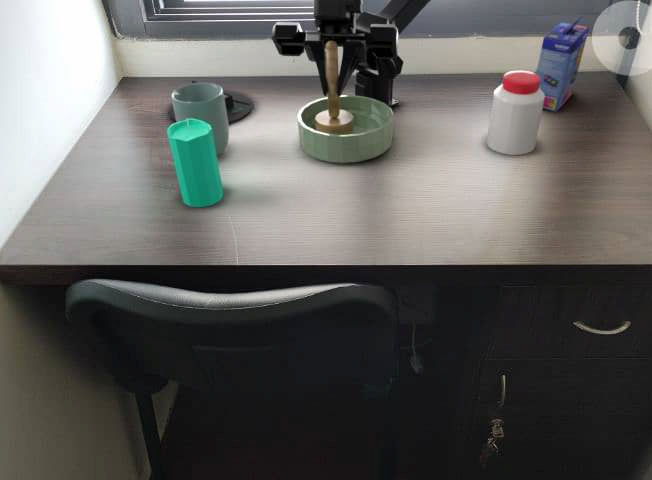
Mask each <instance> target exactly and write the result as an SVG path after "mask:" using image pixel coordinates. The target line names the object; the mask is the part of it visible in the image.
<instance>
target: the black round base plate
mask: <svg viewBox="0 0 652 480" xmlns="http://www.w3.org/2000/svg"><path fill="white" fill-rule="evenodd" d="M191 83H199V82H198V81H196V80H191ZM223 93H224V97H225V103H226V110H227V116H228V125H230V124H233V123H236V122H238V121H241V120H243V119H244V118H246V117H247V116H248V115H250V113H251V112H252V111H253V107H254V105H253V101H252V100H251V99H250V97H248V96H246V95H245V94H242V93H239V92H236V91H235V92H234V91H229V90H223ZM169 116H170V118H171V120H172V121H174V123H177V122H176V118H175V113H174V109H173V104H172V105H171V107H170V108H169Z"/></svg>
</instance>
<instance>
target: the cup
mask: <svg viewBox="0 0 652 480" xmlns="http://www.w3.org/2000/svg"><path fill="white" fill-rule="evenodd" d="M223 91H224V89H223V88H222V87H221V86H220V85H219V84H217V83H213V82H212V83H211V82H198V83H192V82H191V83H187V84H183V85H181V86H179V87H177V88H175V90H173V91H172V93H171V104H172V105H173V109H174V113H175V118H176V122H175V123H177V122H180V121H183V120H187V119H191V118H192V119H197V120H201V121H204V122H206V123H207V124H209V125H210V126H211V128H212V133H213V139H214V144H215V150H216V155H217V157H218V156H220V155H221V154H222V153H223V152H224V151H225V150H226V149H227V147H228V144H229V139H230V128H229V127H230V126H229V125H230V124H228V116H227V110H226V103H225V97H224V93H223ZM186 118H187V119H186Z"/></svg>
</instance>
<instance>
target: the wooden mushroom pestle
mask: <svg viewBox="0 0 652 480" xmlns="http://www.w3.org/2000/svg"><path fill="white" fill-rule="evenodd" d="M325 52H326V74H327V97H328V110H326V111H323V112H320V113H319V114H317V115H316V117H315V122H316V131H319V132H323V133H327V134H336V135H350V134H353V115H352V114H351V113H350V112H348V111H345V110H340V105H339V96H338V95H337V86H338V79H339V47H338V46H337V44H336V42H334V41H328V42H327V43H326V46H325Z"/></svg>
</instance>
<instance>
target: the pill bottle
mask: <svg viewBox="0 0 652 480" xmlns="http://www.w3.org/2000/svg"><path fill="white" fill-rule="evenodd" d="M540 80H541V78H540V76H539V75H537V74H536V72H533V71H529V70H520V69H519V70H511V71H508V72H505V73H504V75H503V79H502V83H501V84H500V85H499V86H497V87H496V88H495V89H494V91H493V95H492V103H491V109H490V116H489V123H488V131H487V138H486V144H487V146H488V147H489V149H491V150H492V151H494V152H497V153H499V154H503V155H508V156H521V155H525V154H528V153H531V152H533V151H534V149H535V147H536V144H537V140H538V139H537V138H538V132H539V129H540V123H541V119H542V113H543V104H544V99H545V94H544V92H543V91H542V90H541V89H540V87H539V85H540Z"/></svg>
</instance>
